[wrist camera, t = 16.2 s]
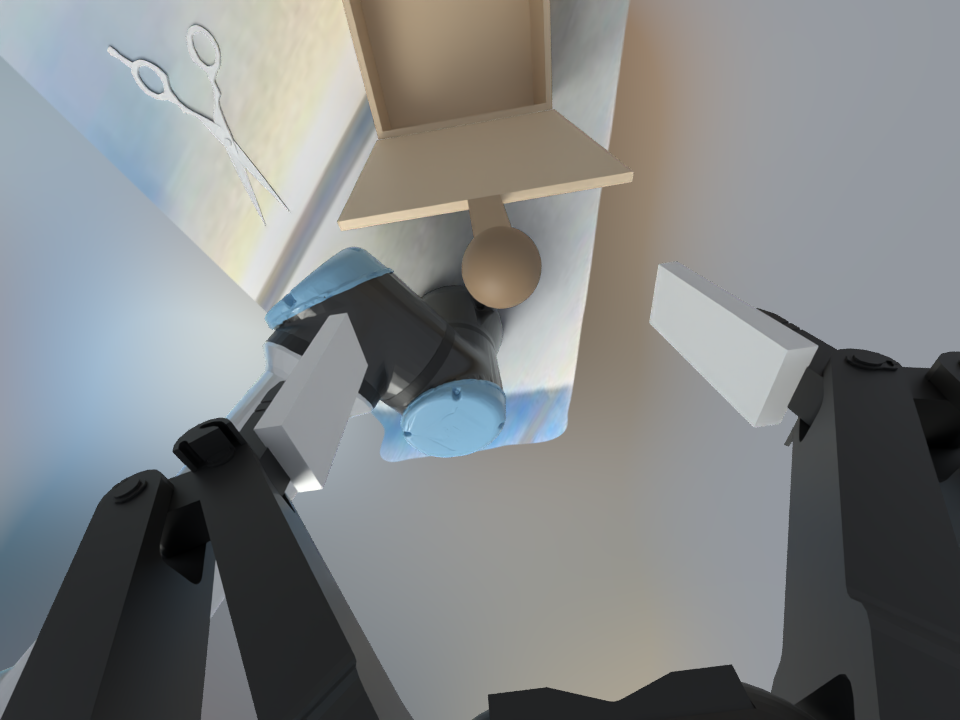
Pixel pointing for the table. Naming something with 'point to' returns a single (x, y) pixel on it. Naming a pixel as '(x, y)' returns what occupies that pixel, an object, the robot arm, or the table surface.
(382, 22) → the box
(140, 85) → the scissors
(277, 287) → the table surface
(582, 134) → the lid
